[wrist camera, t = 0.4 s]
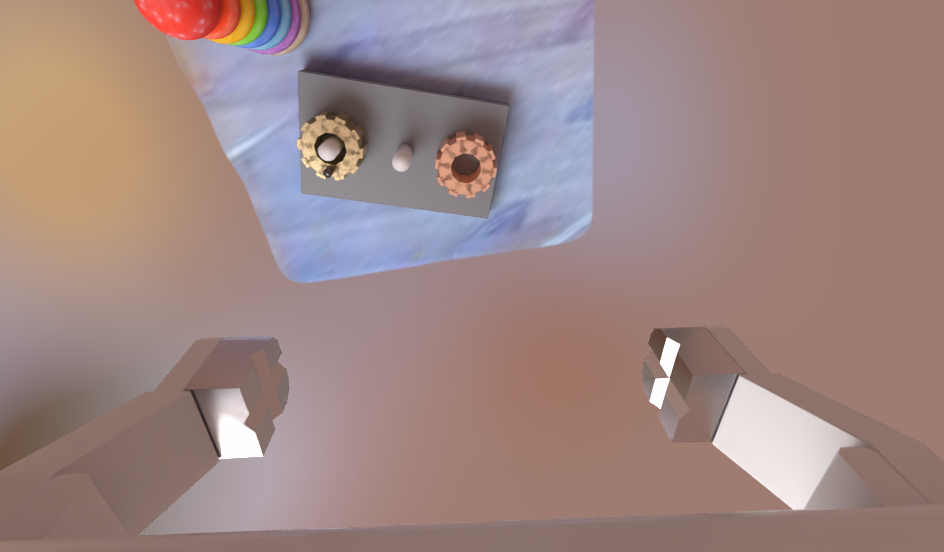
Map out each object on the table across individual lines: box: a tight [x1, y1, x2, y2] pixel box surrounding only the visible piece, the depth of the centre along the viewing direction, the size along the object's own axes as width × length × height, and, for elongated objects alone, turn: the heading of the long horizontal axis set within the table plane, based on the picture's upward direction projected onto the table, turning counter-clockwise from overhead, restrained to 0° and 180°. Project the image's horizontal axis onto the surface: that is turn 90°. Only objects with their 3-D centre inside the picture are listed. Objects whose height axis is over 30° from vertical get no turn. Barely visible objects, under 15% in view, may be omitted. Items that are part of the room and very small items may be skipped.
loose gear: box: [435, 131, 497, 198], centre depth 49 cm, size 7×7×3 cm
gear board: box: [298, 70, 510, 219], centre depth 48 cm, size 13×22×6 cm, turn 81°
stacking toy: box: [134, 0, 310, 55], centre depth 35 cm, size 8×8×19 cm
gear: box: [297, 110, 368, 181], centre depth 46 cm, size 7×7×4 cm
